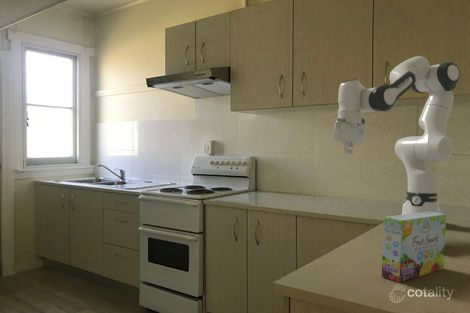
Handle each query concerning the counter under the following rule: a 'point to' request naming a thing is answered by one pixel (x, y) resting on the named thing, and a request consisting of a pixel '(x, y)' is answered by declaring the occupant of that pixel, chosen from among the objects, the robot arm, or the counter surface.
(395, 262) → the snack box
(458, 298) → the counter surface
